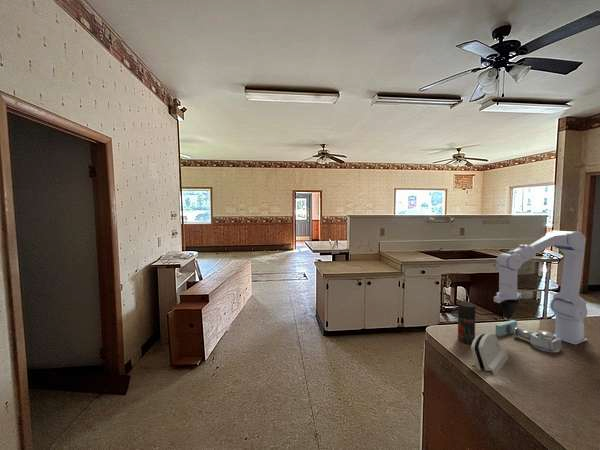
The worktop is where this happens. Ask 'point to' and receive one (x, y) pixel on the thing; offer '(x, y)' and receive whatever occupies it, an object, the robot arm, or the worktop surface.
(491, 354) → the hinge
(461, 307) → the deodorant
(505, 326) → the pale teal rectangular bar
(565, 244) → the robot arm
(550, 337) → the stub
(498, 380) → the worktop surface
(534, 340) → the elbow
